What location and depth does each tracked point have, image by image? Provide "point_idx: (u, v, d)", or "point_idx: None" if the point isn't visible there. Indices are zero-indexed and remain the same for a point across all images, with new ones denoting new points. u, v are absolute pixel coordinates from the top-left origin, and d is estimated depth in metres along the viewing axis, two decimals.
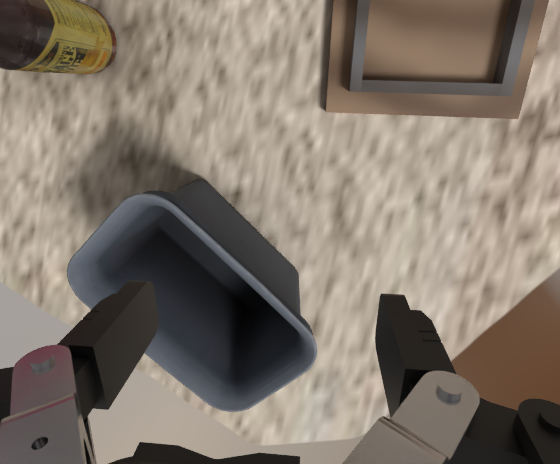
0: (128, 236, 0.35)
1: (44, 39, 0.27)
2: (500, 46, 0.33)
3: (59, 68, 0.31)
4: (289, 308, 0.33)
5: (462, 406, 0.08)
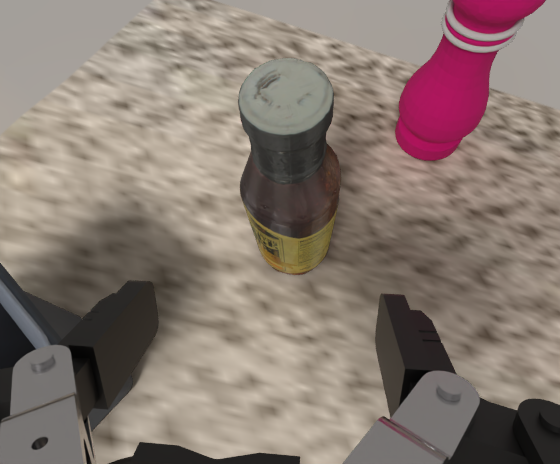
0: None
1: (277, 230, 0.22)
2: None
3: (253, 229, 0.26)
4: None
5: (462, 406, 0.08)
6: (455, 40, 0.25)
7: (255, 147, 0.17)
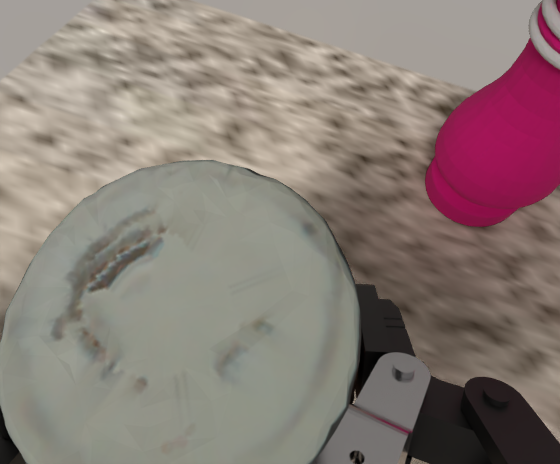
0: None
1: None
2: None
3: None
4: None
5: (413, 383, 0.08)
6: None
7: None
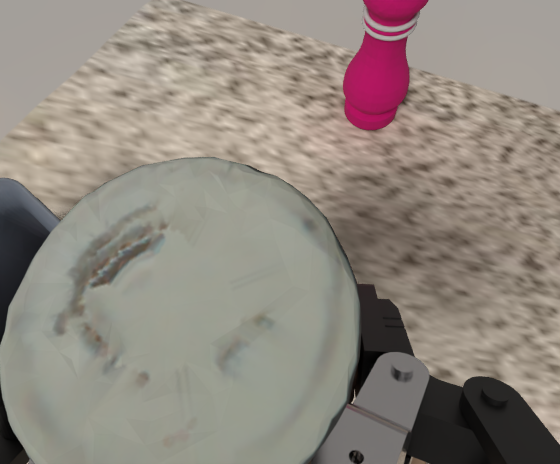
0: None
1: None
2: None
3: None
4: None
5: (412, 383, 0.08)
6: (370, 32, 0.34)
7: None
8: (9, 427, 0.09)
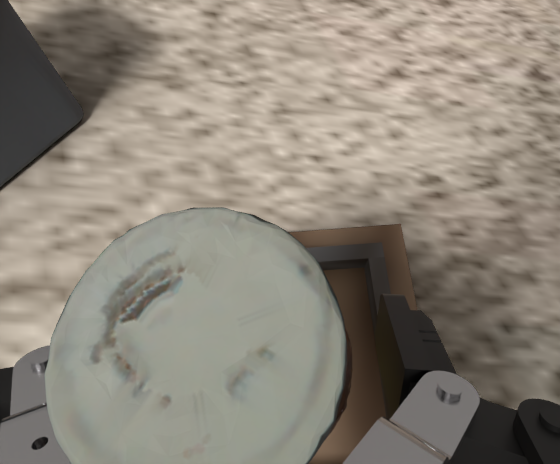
0: None
1: None
2: None
3: None
4: None
5: (462, 406, 0.08)
6: None
7: None
8: None
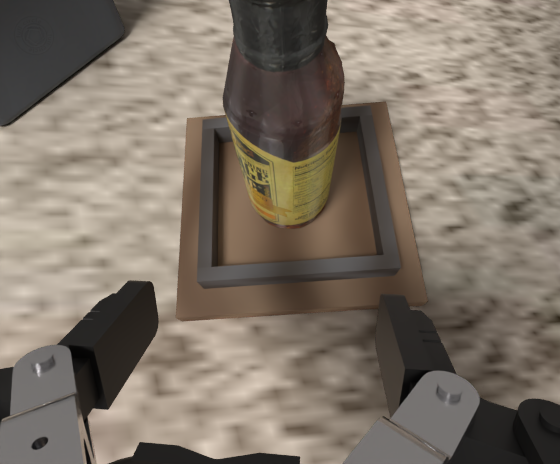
0: None
1: (266, 147, 0.18)
2: None
3: (240, 161, 0.22)
4: None
5: (462, 406, 0.08)
6: None
7: (236, 9, 0.13)
8: None
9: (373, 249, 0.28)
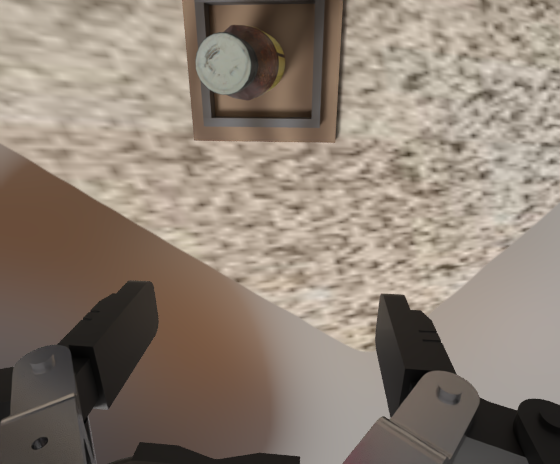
0: None
1: (233, 97, 0.34)
2: (239, 116, 0.46)
3: None
4: None
5: (462, 406, 0.08)
6: None
7: None
8: None
9: (310, 107, 0.45)
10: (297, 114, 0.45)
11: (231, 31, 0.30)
